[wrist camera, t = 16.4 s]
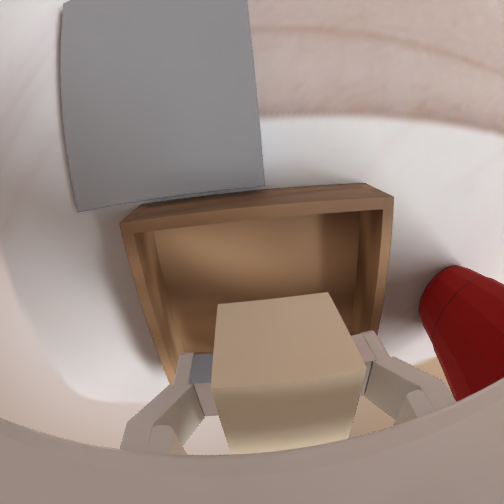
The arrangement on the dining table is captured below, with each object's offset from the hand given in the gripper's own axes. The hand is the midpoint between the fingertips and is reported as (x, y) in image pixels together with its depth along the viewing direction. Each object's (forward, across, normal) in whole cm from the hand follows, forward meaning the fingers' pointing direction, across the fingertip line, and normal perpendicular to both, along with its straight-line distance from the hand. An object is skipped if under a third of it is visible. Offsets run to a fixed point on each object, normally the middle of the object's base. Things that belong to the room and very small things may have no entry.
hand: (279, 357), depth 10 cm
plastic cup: (+9, -15, +5) cm, 18 cm away
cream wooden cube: (+1, 0, 0) cm, 1 cm away
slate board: (+8, +5, -12) cm, 15 cm away
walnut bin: (+8, 0, +2) cm, 9 cm away
